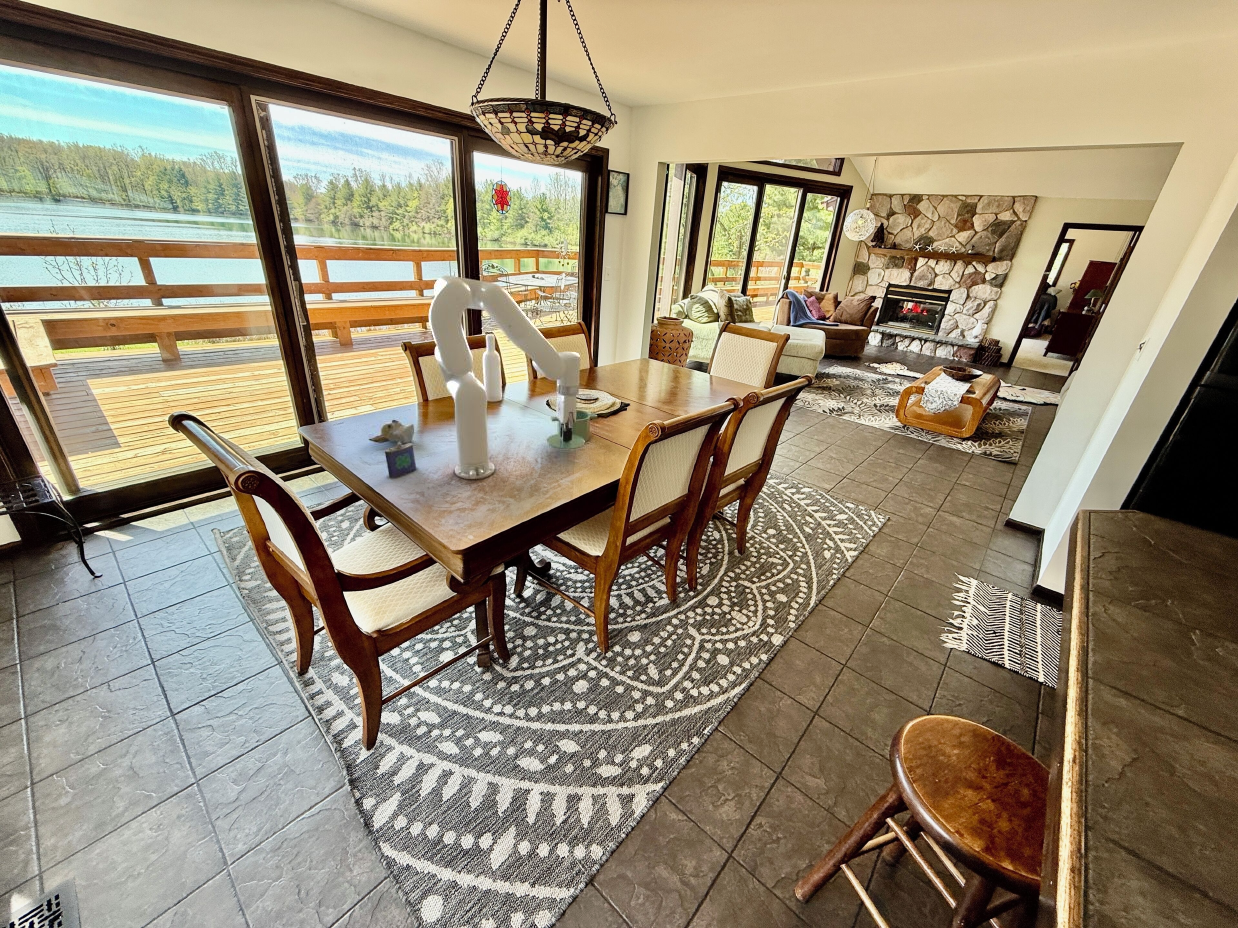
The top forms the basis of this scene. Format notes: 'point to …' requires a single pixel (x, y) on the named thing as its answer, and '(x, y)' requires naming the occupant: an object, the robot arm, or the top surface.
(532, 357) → the robot arm
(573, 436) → the lid
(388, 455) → the flask
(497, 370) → the bottle
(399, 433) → the ceramic sculpture
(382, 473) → the top surface
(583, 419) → the pot
